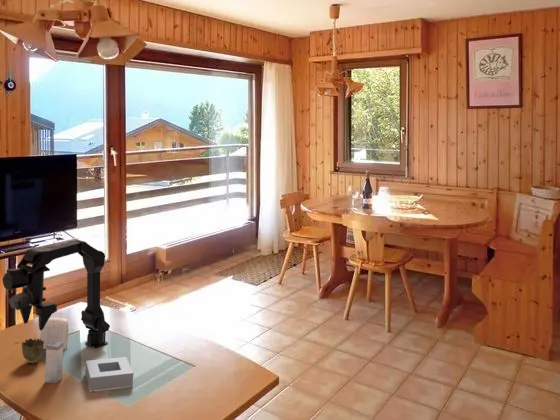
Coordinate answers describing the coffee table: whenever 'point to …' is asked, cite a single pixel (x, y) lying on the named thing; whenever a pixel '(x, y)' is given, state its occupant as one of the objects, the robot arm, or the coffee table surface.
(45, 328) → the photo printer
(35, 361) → the brown ornate lampshade
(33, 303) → the robot arm
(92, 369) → the square well
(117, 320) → the coffee table surface
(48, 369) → the metal bar
